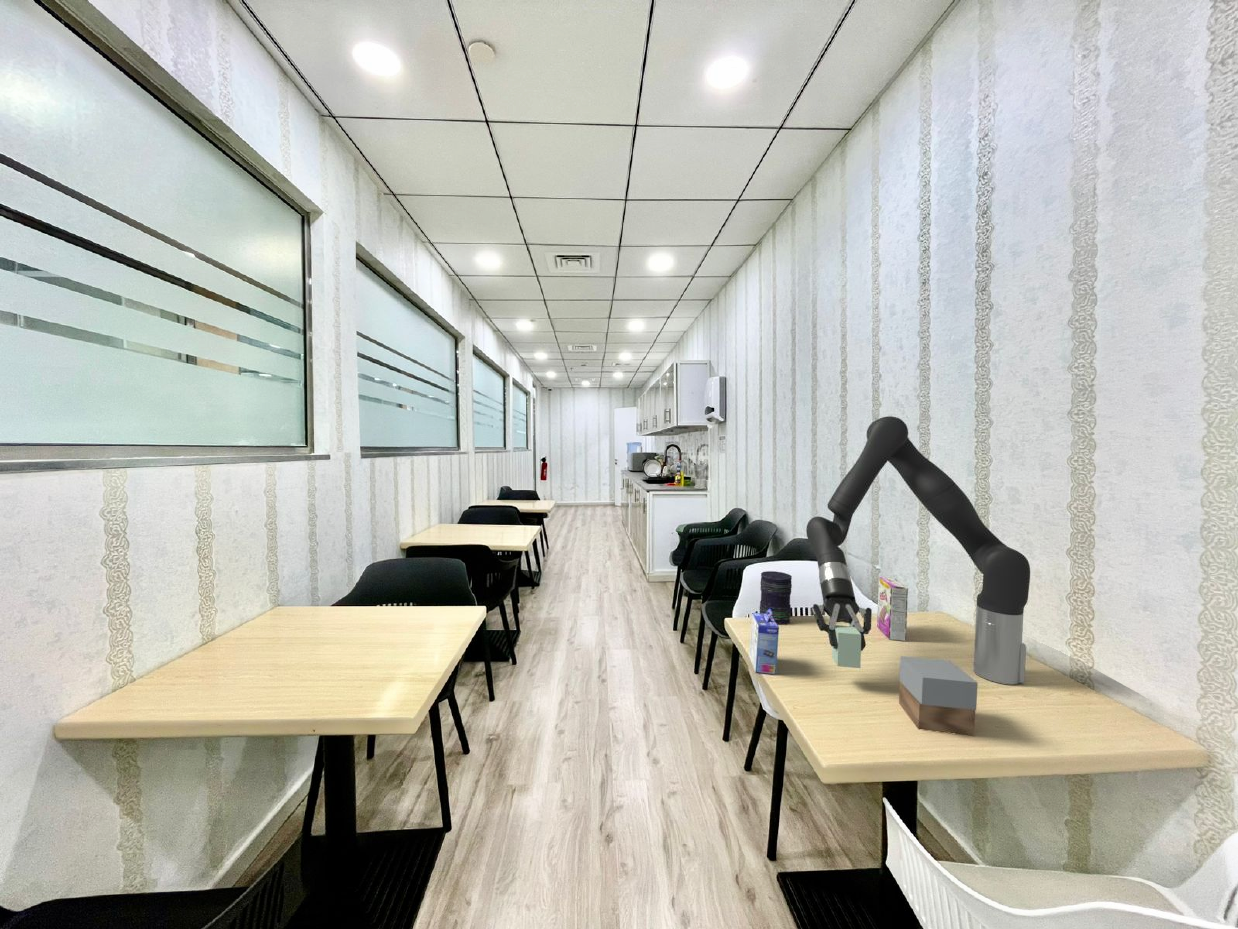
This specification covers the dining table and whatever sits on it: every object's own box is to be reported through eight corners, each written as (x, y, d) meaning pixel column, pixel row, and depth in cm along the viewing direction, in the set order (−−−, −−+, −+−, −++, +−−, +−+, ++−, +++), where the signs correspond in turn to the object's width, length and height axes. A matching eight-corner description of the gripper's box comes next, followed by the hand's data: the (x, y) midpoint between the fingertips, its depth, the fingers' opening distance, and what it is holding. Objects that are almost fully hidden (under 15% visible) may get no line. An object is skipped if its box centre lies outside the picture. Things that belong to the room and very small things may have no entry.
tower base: (948, 710, 102) (949, 685, 102) (973, 737, 92) (975, 710, 92) (898, 704, 104) (899, 679, 104) (918, 730, 94) (919, 703, 94)
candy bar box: (875, 626, 151) (877, 576, 150) (892, 628, 150) (894, 577, 149) (888, 640, 140) (890, 586, 139) (906, 642, 139) (909, 587, 138)
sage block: (854, 659, 114) (854, 626, 113) (860, 668, 109) (861, 634, 109) (832, 657, 115) (832, 625, 114) (837, 666, 110) (838, 632, 110)
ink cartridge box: (778, 675, 116) (780, 617, 115) (755, 673, 116) (757, 616, 116) (769, 658, 126) (771, 604, 125) (748, 656, 126) (750, 603, 126)
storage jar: (764, 612, 162) (766, 569, 161) (794, 618, 156) (795, 574, 156) (754, 620, 154) (756, 575, 153) (785, 627, 148) (787, 581, 148)
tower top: (948, 685, 102) (949, 660, 102) (976, 710, 92) (977, 682, 92) (899, 680, 104) (900, 656, 103) (921, 704, 94) (922, 677, 94)
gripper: (809, 574, 120) (819, 639, 108) (869, 578, 117) (886, 644, 106) (804, 589, 125) (813, 652, 114) (862, 592, 123) (877, 657, 111)
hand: (848, 648), depth 110 cm, fingers closed on sage block, 5 cm apart
